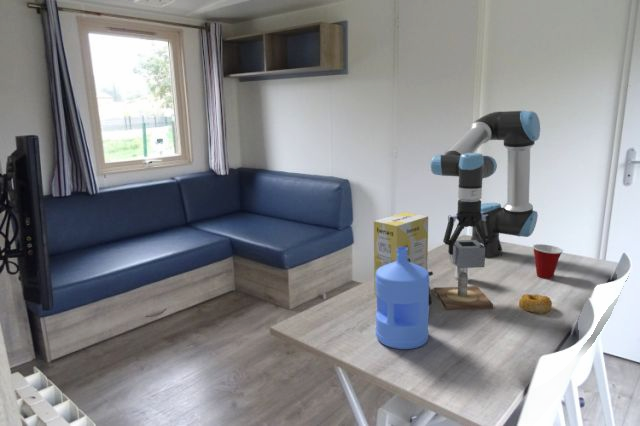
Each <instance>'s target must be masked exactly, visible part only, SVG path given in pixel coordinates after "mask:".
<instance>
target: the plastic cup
mask: <svg viewBox="0 0 640 426" xmlns="http://www.w3.org/2000/svg"><path fill="white" fill-rule="evenodd" d="M532 249H533V253H534V263H535V264H534V265H535V269H536V270H535V272H536V276H537V278H539V279H540V278H541V279H545V280H546V279H547V280H548V279H552V278H554V275H555V272H556V269H557V266H558V262H559V259H560V257H561V255H562V254H563V252H564V249H562V248H560V247H557V246H554V245H550V244H543V243H540V244H538V243H536V244H533V245H532Z"/></svg>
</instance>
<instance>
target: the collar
mask: <svg viewBox="0 0 640 426" xmlns="http://www.w3.org/2000/svg"><path fill="white" fill-rule="evenodd" d="M454 245H455V246H456V258H455V265H456V267H457V268H470V269H473V268H485V266H486V265H485V261H486V258H485V247H484V246H483V245H482V244H480V243H479V242H478V241H477V240H471V239H468V240H466V239H465V240H463V239H462V240H456V242H455V244H454ZM449 261H451V255H450V254H449ZM455 265H454V266H455ZM456 267H455V268H456Z"/></svg>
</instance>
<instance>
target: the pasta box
mask: <svg viewBox="0 0 640 426" xmlns="http://www.w3.org/2000/svg"><path fill="white" fill-rule="evenodd" d="M428 245H429V216H428V215H424V214H423V215H422V214H417V213H411V212H407V211H405V212H402V213H398V214H394V215H391V216H387V217H384V218H380V219H376V220H373V266H374V267H373V268H374V271H373V275H374V277H373V279H374V280H373V283H374V286H373V287H374V288H373V289H374V290H373V291H374V294H375V295H376V286H375V277H376V271H377V269H378V268H380V267H381V266H384V265H387V264H390V263H393V262H396V261H397V248H398V247H406V248H408V250H407V254H408V257H407V260H408V262H410V263H413V264H415V265H418V266H421V267H423V268H425V269H426V270H427V271H428V252H429V251H428V249H429V248H428V247H429V246H428Z"/></svg>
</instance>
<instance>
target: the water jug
mask: <svg viewBox="0 0 640 426" xmlns="http://www.w3.org/2000/svg"><path fill="white" fill-rule="evenodd" d="M407 250H408V248H406V247H398V248H397V261H396V262H393V263H390V264H387V265H384V266H381V267H380V268H378V269H377V271H376V277H375V286H376V294H375V295H376V314H375V336H376V339H377V340H378V341H379V342H380V343H381V344H383V345H384V346H387V347H389V348H392V349H398V350H411V349H416V348H419V347H422V346H423V345H425V344H426V342H427V341H428V339H429V313H430V307H429V286H430V276H429V273H428V272H429V271H428V269H427V270H426V269H425V268H423V267H421V266H418V265H415V264H413V263H410V262H408V260H407V257H408V254H407Z"/></svg>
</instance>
